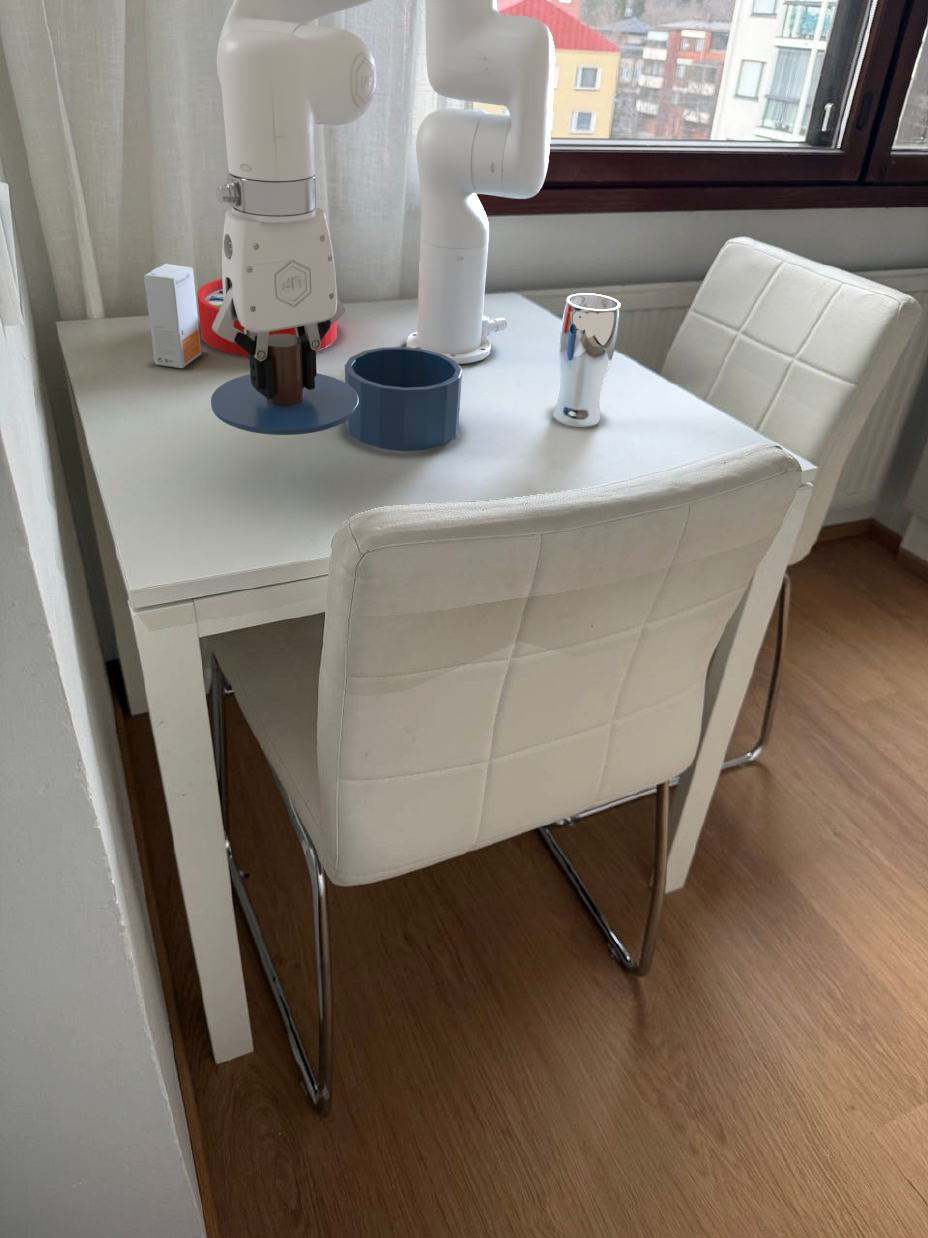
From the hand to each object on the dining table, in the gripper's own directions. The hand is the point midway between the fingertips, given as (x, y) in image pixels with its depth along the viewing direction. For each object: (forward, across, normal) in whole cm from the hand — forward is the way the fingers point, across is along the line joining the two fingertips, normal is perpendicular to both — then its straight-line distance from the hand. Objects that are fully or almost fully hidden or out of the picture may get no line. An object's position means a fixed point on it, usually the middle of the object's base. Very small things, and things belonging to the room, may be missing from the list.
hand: (284, 387), depth 93 cm
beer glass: (+12, +41, -2) cm, 42 cm away
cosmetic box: (+12, +5, +40) cm, 42 cm away
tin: (+11, +19, +6) cm, 23 cm away
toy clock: (+12, +21, +44) cm, 50 cm away
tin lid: (+2, 0, 0) cm, 2 cm away
